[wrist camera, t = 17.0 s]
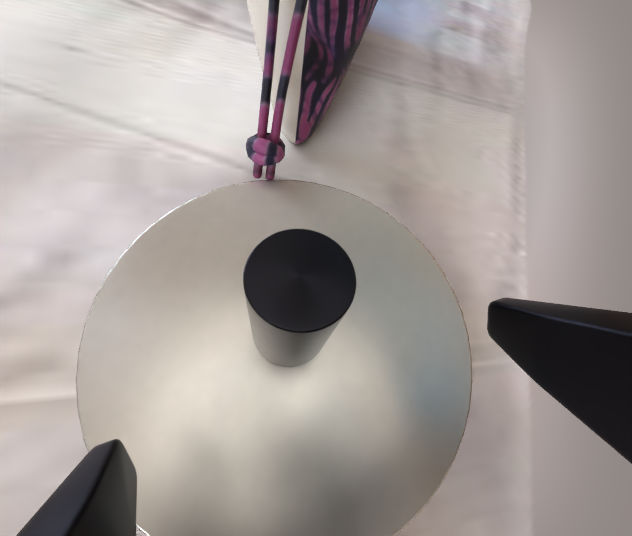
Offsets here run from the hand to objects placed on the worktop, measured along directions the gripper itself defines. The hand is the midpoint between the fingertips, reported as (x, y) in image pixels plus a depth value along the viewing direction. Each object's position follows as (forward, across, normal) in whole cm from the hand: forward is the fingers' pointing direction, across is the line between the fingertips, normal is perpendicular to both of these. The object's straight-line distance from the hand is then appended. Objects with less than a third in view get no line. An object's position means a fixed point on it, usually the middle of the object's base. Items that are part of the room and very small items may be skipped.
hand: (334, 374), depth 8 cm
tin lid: (+5, 0, +2) cm, 6 cm away
